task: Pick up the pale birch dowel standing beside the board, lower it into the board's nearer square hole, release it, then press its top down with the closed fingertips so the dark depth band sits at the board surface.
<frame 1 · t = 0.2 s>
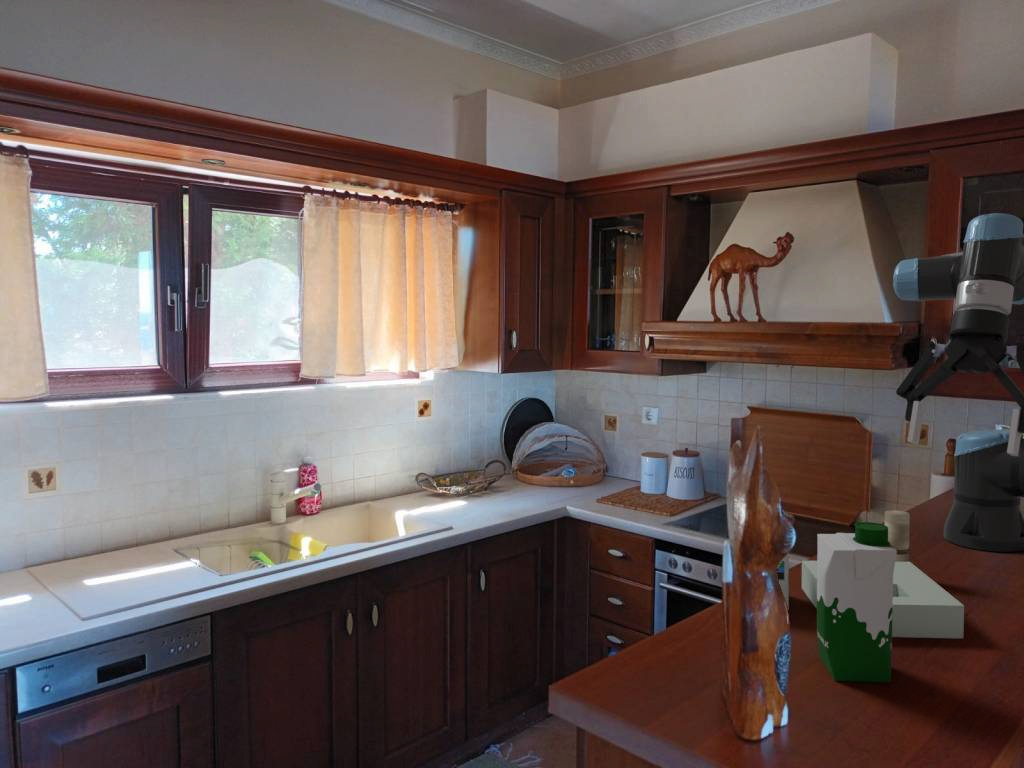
hand: (960, 448, 115), 27 cm above the countertop, tool tilted 20°, fingers open, 13 cm apart
light bulb box: (763, 603, 128), on the countertop
milk carton: (853, 671, 103), on the countertop
board: (875, 611, 123), on the countertop
peg: (895, 577, 138), on the countertop
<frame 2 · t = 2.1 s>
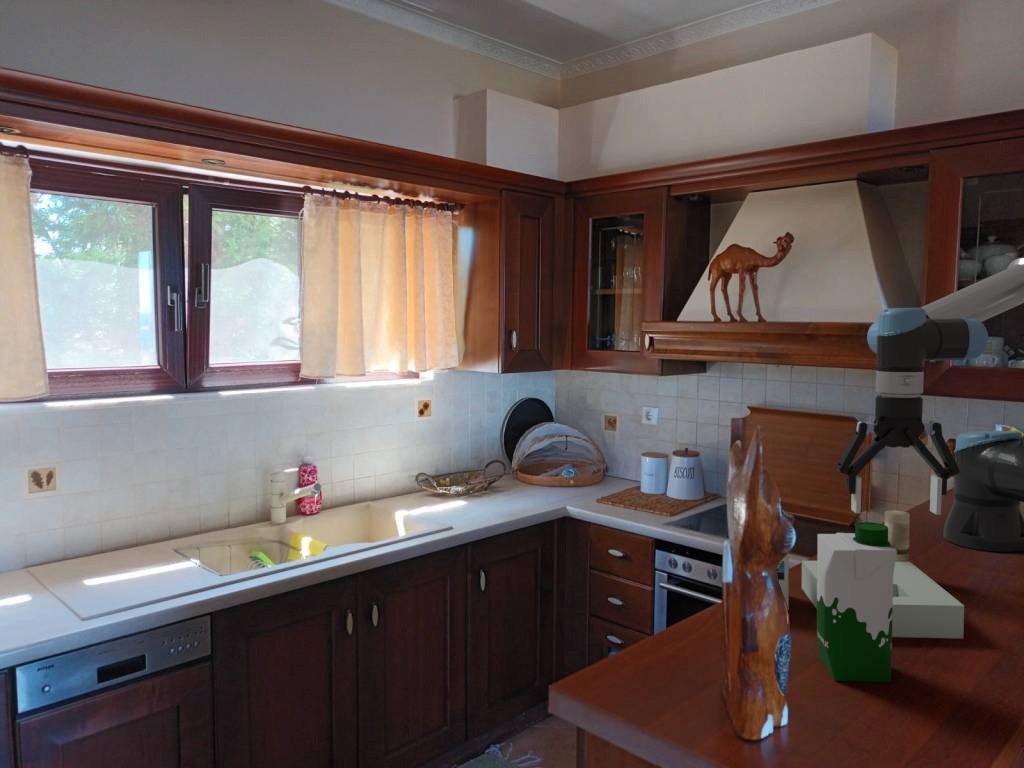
hand: (895, 512, 136), 12 cm above the countertop, tool pointing down, fingers open, 13 cm apart
nothing on the countertop moved.
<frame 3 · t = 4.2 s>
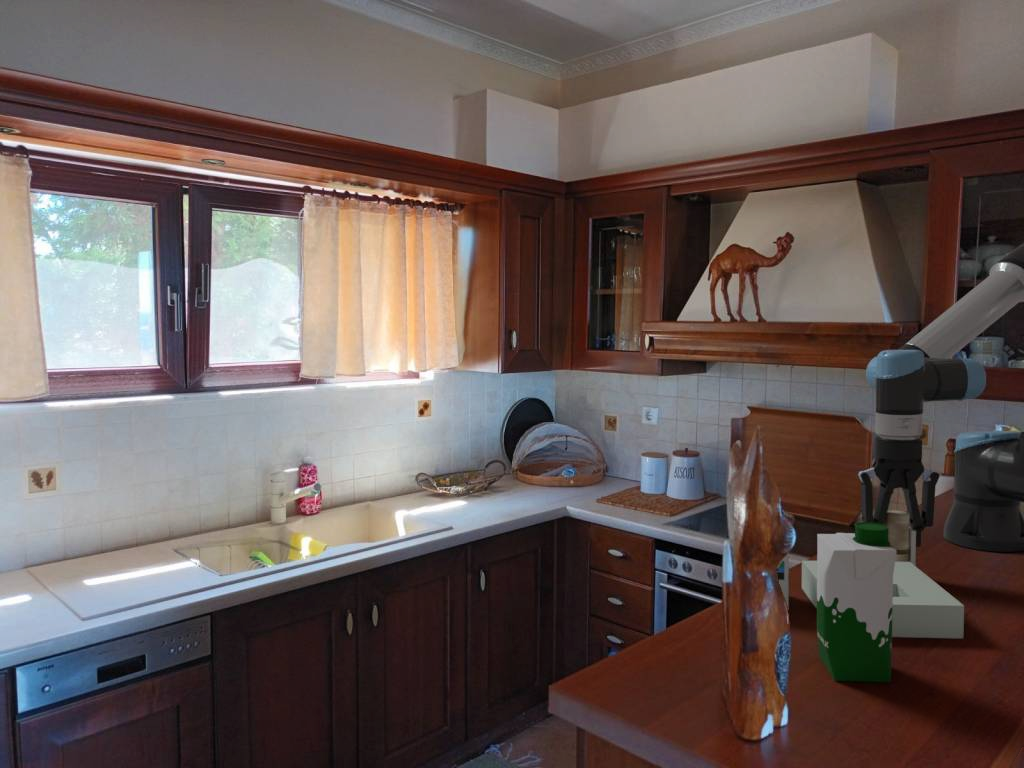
hand: (896, 563, 137), 3 cm above the countertop, tool pointing down, fingers closed on peg, 4 cm apart
peg: (895, 577, 137), on the countertop, touching gripper
everything else where it was.
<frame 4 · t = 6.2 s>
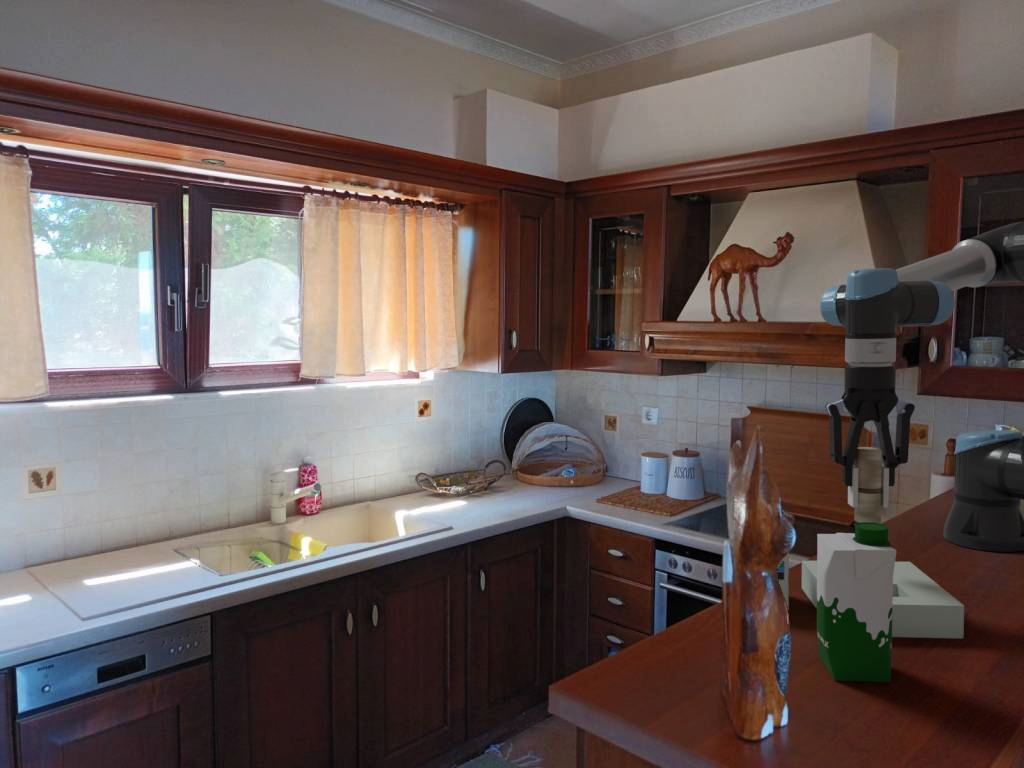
hand: (867, 505, 125), 17 cm above the countertop, tool pointing down, fingers closed on peg, 4 cm apart
peg: (867, 520, 126), point 14 cm above the countertop, touching gripper
everything else where it was.
when the fingers open (6 cm above the countertop, at t = 8.2 s): peg drops 4 cm, resting in board.
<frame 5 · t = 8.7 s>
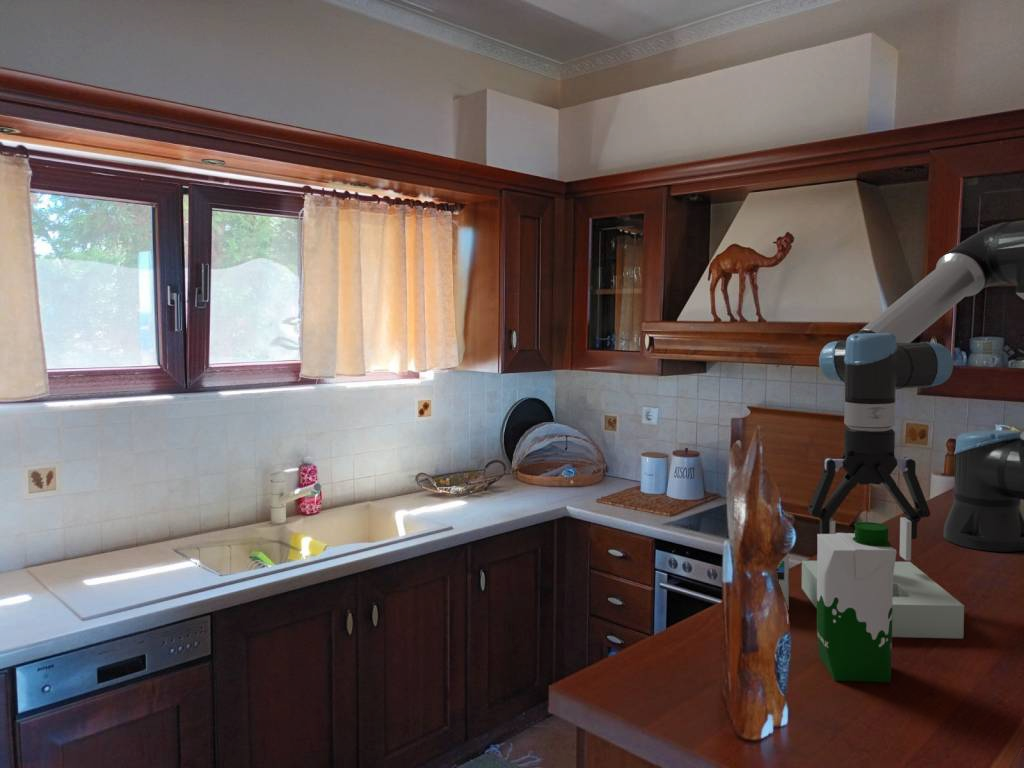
hand: (867, 557, 126), 8 cm above the countertop, tool pointing down, fingers open, 11 cm apart
peg: (866, 601, 127), resting in board
everything else where it was.
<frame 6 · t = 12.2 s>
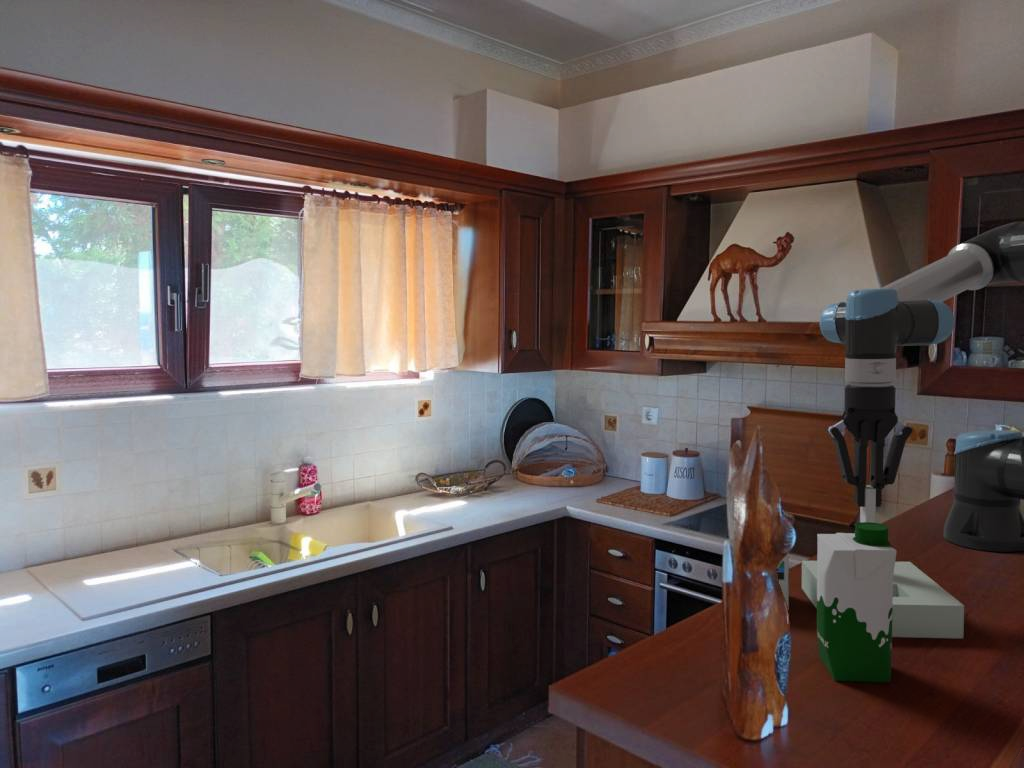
hand: (867, 525, 126), 13 cm above the countertop, tool pointing down, fingers closed
nothing on the countertop moved.
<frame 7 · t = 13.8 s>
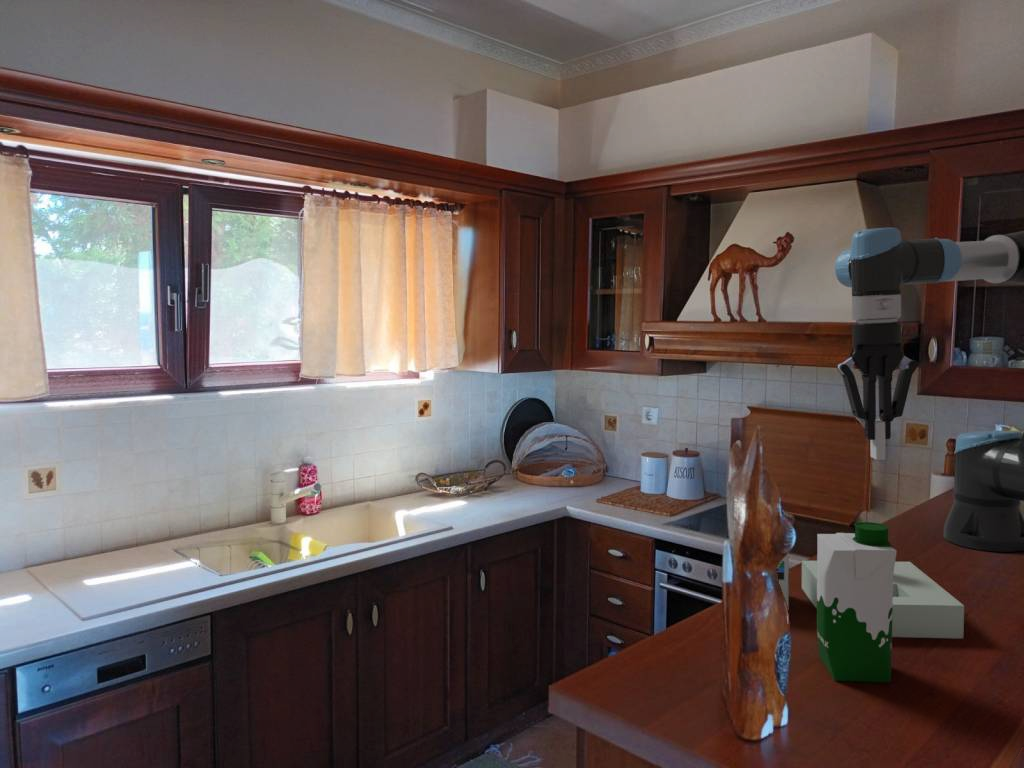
hand: (877, 457, 131), 23 cm above the countertop, tool pointing down, fingers closed
nothing on the countertop moved.
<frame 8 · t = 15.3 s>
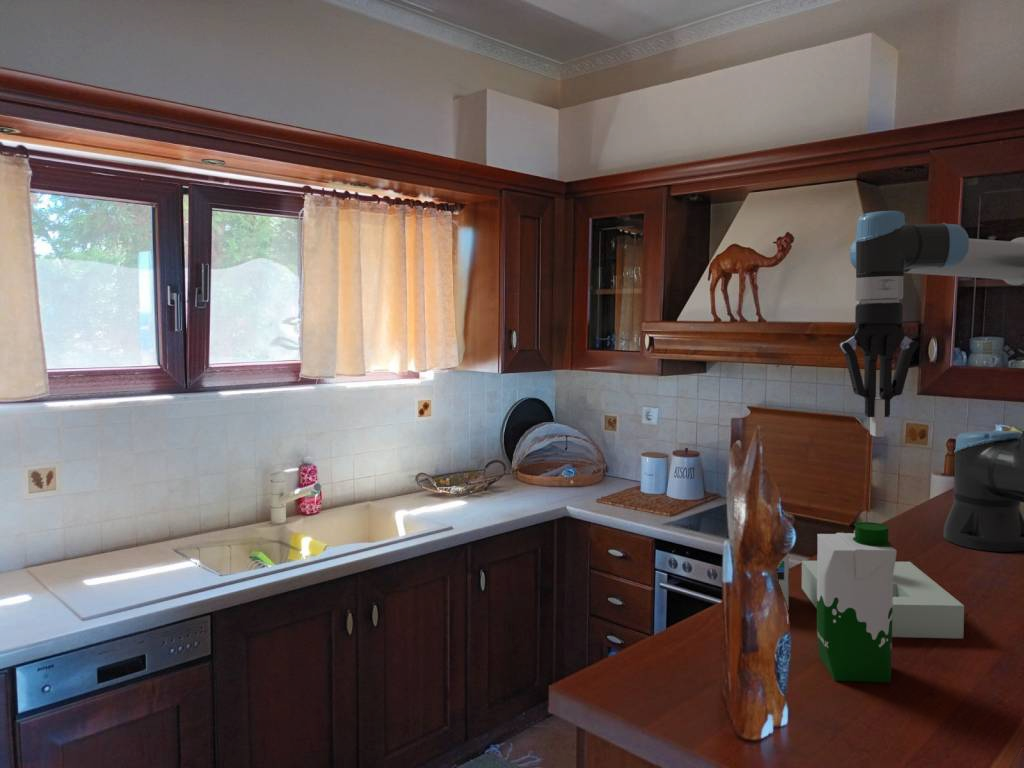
hand: (877, 435, 135), 26 cm above the countertop, tool pointing down, fingers closed
nothing on the countertop moved.
at the end: peg 0.0 cm from the target spot on the board, point 0.0 cm above the board's base; peg tilted 2°; the gripper is holding nothing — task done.
